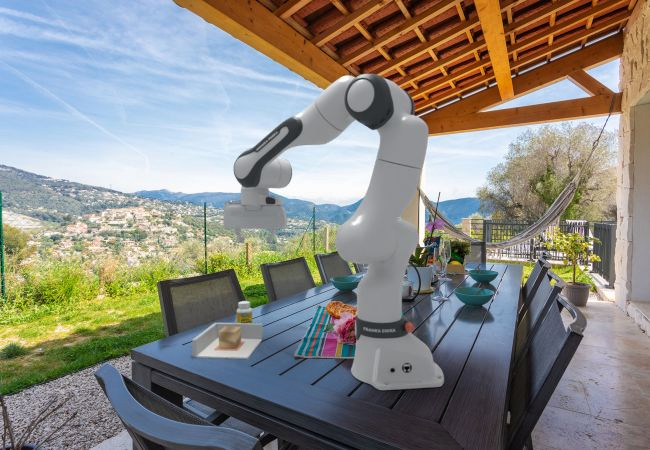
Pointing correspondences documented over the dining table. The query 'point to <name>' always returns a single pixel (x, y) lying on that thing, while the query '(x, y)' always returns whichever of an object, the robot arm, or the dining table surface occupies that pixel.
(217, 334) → the corner arena
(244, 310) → the supplement bottle
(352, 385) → the dining table surface
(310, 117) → the robot arm
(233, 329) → the oak cube
